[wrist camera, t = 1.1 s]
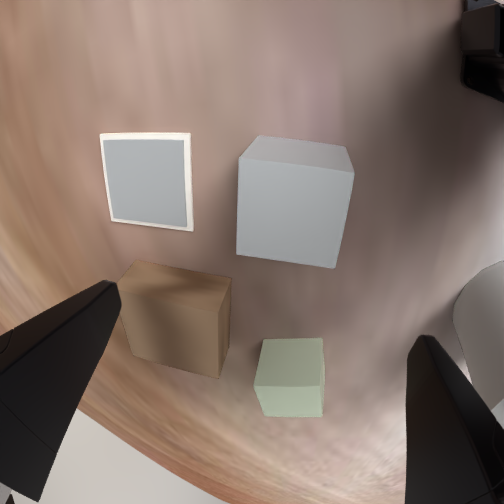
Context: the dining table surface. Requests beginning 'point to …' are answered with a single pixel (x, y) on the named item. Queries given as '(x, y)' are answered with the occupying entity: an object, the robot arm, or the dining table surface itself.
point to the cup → (484, 334)
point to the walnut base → (176, 316)
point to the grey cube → (293, 200)
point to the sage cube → (291, 377)
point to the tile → (149, 178)
